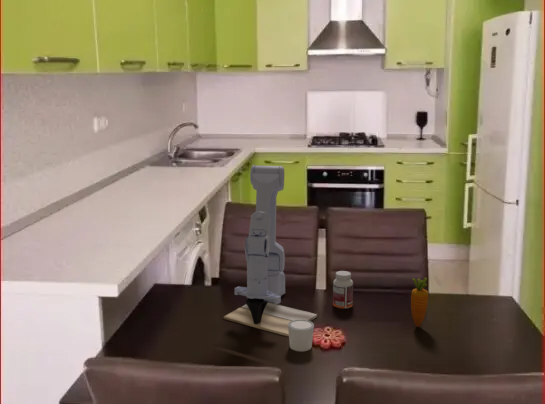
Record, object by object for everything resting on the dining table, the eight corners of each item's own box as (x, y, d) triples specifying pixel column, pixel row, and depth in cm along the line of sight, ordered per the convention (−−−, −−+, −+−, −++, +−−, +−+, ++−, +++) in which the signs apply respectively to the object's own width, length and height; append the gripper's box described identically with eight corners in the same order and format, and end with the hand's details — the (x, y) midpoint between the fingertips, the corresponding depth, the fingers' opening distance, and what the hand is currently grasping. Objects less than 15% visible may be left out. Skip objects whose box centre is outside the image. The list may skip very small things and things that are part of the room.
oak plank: (239, 312, 185) (239, 307, 185) (302, 328, 174) (302, 323, 173) (223, 321, 179) (223, 316, 178) (288, 339, 167) (288, 334, 167)
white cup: (299, 341, 166) (300, 317, 164) (319, 349, 161) (319, 324, 160) (282, 348, 161) (282, 324, 160) (301, 357, 156) (301, 332, 155)
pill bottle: (348, 302, 194) (349, 269, 192) (355, 309, 188) (356, 275, 186) (329, 304, 193) (330, 270, 190) (336, 311, 187) (337, 277, 184)
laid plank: (255, 303, 192) (255, 299, 192) (316, 319, 181) (317, 314, 180) (240, 311, 186) (240, 307, 185) (303, 328, 174) (303, 323, 174)
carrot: (405, 327, 175) (408, 277, 172) (414, 322, 179) (417, 273, 176) (421, 332, 172) (424, 281, 169) (429, 326, 176) (433, 277, 173)
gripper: (228, 276, 172) (228, 321, 175) (271, 285, 164) (271, 333, 167) (242, 269, 178) (242, 313, 181) (284, 278, 170) (284, 324, 173)
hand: (257, 322), depth 174 cm, fingers closed, pressing on oak plank
